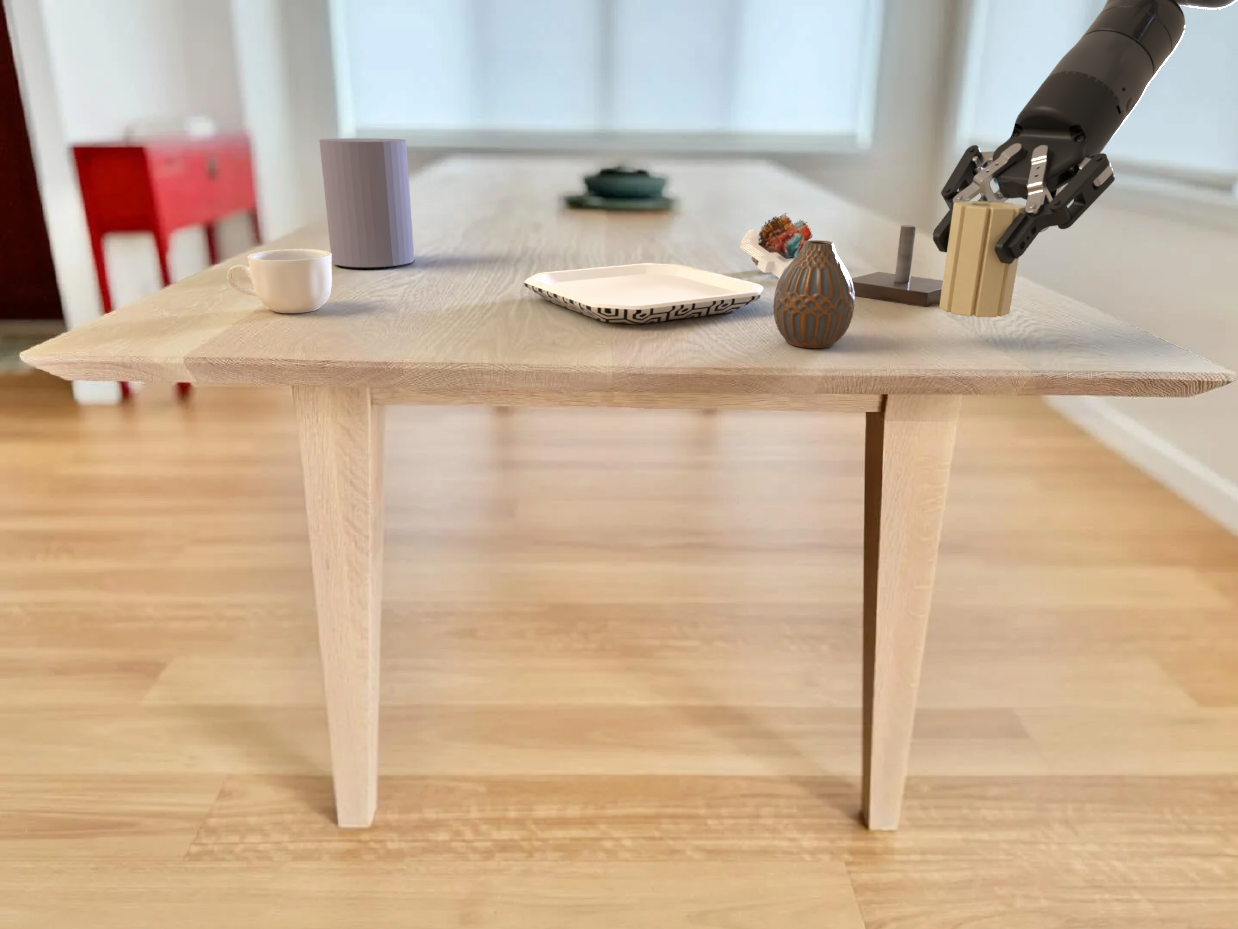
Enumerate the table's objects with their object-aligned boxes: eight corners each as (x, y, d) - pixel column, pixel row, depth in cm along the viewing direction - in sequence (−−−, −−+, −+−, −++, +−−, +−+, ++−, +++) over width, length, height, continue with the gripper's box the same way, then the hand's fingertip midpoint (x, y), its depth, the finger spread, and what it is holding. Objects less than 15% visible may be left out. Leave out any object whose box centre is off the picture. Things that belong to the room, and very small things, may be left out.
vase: (855, 338, 84) (866, 239, 80) (843, 356, 78) (854, 250, 74) (780, 331, 86) (787, 234, 83) (762, 347, 80) (769, 244, 77)
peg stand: (958, 296, 102) (969, 227, 100) (926, 306, 97) (935, 233, 94) (877, 284, 109) (884, 218, 106) (841, 293, 103) (848, 224, 100)
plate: (782, 311, 94) (784, 289, 93) (608, 334, 84) (609, 310, 83) (667, 279, 110) (668, 260, 110) (510, 295, 100) (510, 274, 99)
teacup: (339, 300, 97) (334, 247, 95) (334, 315, 90) (328, 259, 88) (238, 303, 95) (230, 249, 93) (225, 319, 88) (216, 262, 86)
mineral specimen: (780, 243, 124) (794, 193, 120) (843, 283, 118) (860, 232, 113) (714, 258, 118) (726, 206, 114) (777, 302, 111) (792, 248, 107)
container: (354, 272, 112) (342, 142, 107) (318, 262, 119) (305, 138, 114) (429, 264, 119) (421, 140, 113) (390, 254, 126) (381, 137, 120)
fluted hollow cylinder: (1017, 310, 82) (1036, 204, 78) (992, 320, 78) (1010, 210, 74) (957, 300, 85) (971, 199, 82) (929, 310, 81) (943, 204, 78)
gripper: (998, 69, 83) (887, 212, 82) (1153, 66, 72) (1028, 232, 71) (1025, 131, 88) (921, 267, 87) (1175, 137, 77) (1058, 294, 75)
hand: (970, 250), depth 79 cm, fingers closed on fluted hollow cylinder, 6 cm apart
